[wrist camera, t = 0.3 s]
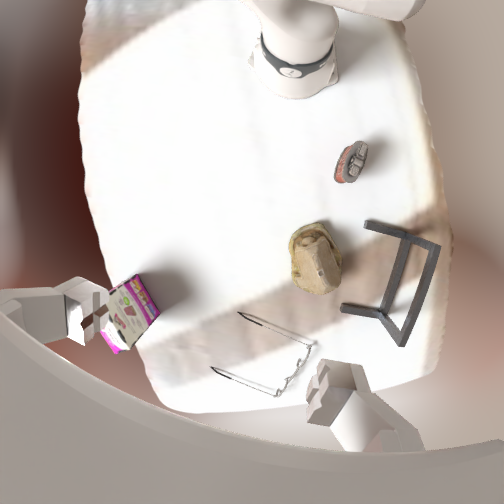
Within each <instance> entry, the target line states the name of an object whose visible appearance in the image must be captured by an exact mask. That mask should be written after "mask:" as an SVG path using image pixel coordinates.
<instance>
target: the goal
mask: <svg viewBox="0 0 504 504" xmlns="http://www.w3.org/2000/svg"><path fill="white" fill-rule="evenodd" d="M364 228H365V229H369V230H372V231H376V232H380V233H383V234H387V235H391V236H394V237H398V238H401V242H400V246H399V250H398V253H397V257H396V260H395V263H394V267H393V270H392V273H391V276H390V279H389V282H388V286H387V289H386V291H385V294H384V297H383V300H382V303H381V306H380V308H379V310H375V309H370V308H364V307H359V306H353V305H348V304H341V307H340V311H341V312H342V313H347V314H353V315H359V316H365V317H371V318H377V319H379V320H380V321H381V323H382V324H383V325H384V327H385V328H386V330H387V331H388V332H389V334H390V335H391V337H392V338H393V340H394V341H395V342H396V344H397V345H398V347H405V345H406V343H407V341H408V338H409V336H410V334H411V332H412V329H413V327H414V325H415V322H416V320H417V317H418V315H419V312H420V310H421V307H422V305H423V302H424V299H425V297H426V294H427V291H428V288H429V285H430V282H431V279H432V276H433V273H434V270H435V267H436V264H437V260H438V257H439V253H440V250H441V246H440V245H438V244H435V243H433V242H430V241H428V240H425V239H423V238H420V237H418V236H415V235H413V234H410V233H407V232H404V231H400V230H397V229H393V228H390V227H386V226H383V225H379V224H376V223H372V222H368V221H365V224H364ZM411 243H414V244H416V245H418V246H420V247H422V248H425V249H427V250H429V253H428V256H427V260H426V263H425V266H424V269H423V273H422V276H421V279H420V282H419V285H418V288H417V290H416V293H415V296H414V299H413V302H412V304H411V307H410V309H409V312H408V315H407V317H406V320H405V322H404V324H403V327H402V329H401V331H400V330H399V329H398V328H397V326H396V325H395V324H394V323H393V321H392V320H391V319H390V317H389V316H388V315H387V314H388V311H389V309H390V306H391V303H392V301H393V298H394V295H395V292H396V289H397V286H398V283H399V280H400V277H401V274H402V271H403V268H404V264H405V261H406V258H407V254H408V251H409V247H410V244H411Z"/></svg>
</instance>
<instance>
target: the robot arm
mask: <svg viewBox="0 0 504 504" xmlns="http://www.w3.org/2000/svg"><path fill="white" fill-rule="evenodd" d="M239 1H240V2H241V3H243V4H244V5H246V6H247V7H248V8H249V9H250V10H251V11H252V12H253V13H254V14H255V15H256V16H257V17H258V18H259V20H260V24H261V29H260V34H261V36H260V38H257V40H256V44H257V45H256V46H255V48H254V50H253V52H252V54H251V56H250V58H249V60H248V66H249V67H250V68H251V69H252V70H253V71H255V72H256V73H257V74H258V76H259V78H260V80H261V82H262V83H263V85H264V86H265V87H266V88H267V89H268V90H269V91H271V92H272V93H274V94H276V95H278V96H280V97H283V98H287V99H304V98H308V97H311V96H313V95H315V94H316V93H318V92H319V91H320V90H321V89H323V88H324V87H326V86H330V85H333V84H335V83H337V80H338V72H337V62H336V52H335V44H334V37H335V35H336V32H337V29H338V26H339V20H338V16H337V13H336V11H335V9H334V7H338V8H341V9H345V10H348V11H351V12H355V13H358V14H363V15H368V16H373V17H378V18H383V19H388V20H393V21H402V20H405V19H408V18H410V17H411V16H413V15H415V14H416V13H417V12H418V11H419V10H420V9H421V8H422V6H423V5H424V3H425V0H239ZM333 6H334V7H333ZM332 73H333V75H332ZM108 302H109V292H108V290H107V289H105V288H102V287H101V286H98V285H96V284H94V283H92V282H90V281H88V280H86V279H83V278H81V277H75V278H73V279H71V280H69V281H67V282H65V283H63V284H61V285H59V286H57V287H55V288H51V287H44V288H21V289H2V290H0V504H504V441H502V440H499V439H497V440H491V441H487V442H482V443H477V444H472V445H467V446H461V447H454V448H447V449H439V450H429V451H425V448H424V445H423V443H422V440H421V437H420V435H419V432H418V430H417V429H416V428H415V427H414V426H413V425H411V424H410V423H409V422H408V421H407V420H405V419H404V418H403V417H402V416H401V415H399V414H398V413H397V412H396V411H395V410H394V409H393V408H391V407H390V406H389V405H388V404H387V403H386V402H384V401H383V400H382V399H381V398H380V397H379V396H377V395H376V394H375V393H371V390H370V387H369V384H368V381H367V378H366V375H365V372H364V369H363V367H362V366H361V365H358V364H351V363H344V362H339V361H333V360H328V359H321V361H320V362H319V364H318V366H317V374H316V375H314V376H313V377H312V378H311V380H310V383H309V385H308V389H307V394H306V401H307V402H308V403H309V406H308V408H307V423H311V424H317V425H323V426H329V427H330V429H331V431H332V432H333V434H334V435H335V436H336V438H337V439H338V440H339V442H340V444H341V445H342V446H343V448H344V449H345V451H336V450H326V449H316V448H308V447H301V446H295V445H289V444H283V443H278V442H272V441H268V440H263V439H258V438H254V437H250V436H246V435H242V434H238V433H234V432H230V431H227V430H223V429H220V428H216V427H213V426H210V425H207V424H203V423H200V422H197V421H194V420H191V419H188V418H186V417H183V416H180V415H177V414H175V413H172V412H169V411H167V410H164V409H162V408H159V407H157V406H155V405H152V404H150V403H147V402H145V401H143V400H141V399H138V398H136V397H134V396H132V395H130V394H127V393H125V392H123V391H121V390H119V389H117V388H115V387H113V386H111V385H109V384H107V383H106V382H104V381H102V380H100V379H98V378H96V377H94V376H92V375H91V374H89V373H87V372H85V371H84V370H82V369H80V368H79V367H77V366H75V365H74V364H72V363H70V362H69V361H67V360H66V359H64V358H63V357H61V356H59V355H58V354H56V353H55V352H53V351H52V350H50V349H49V348H47V347H46V346H45V345H43V344H45V343H49V342H52V341H56V340H60V339H63V338H66V337H70V338H72V339H74V340H76V341H77V342H79V343H81V344H83V345H85V344H86V343H87V342H88V341H90V340H91V339H92V338H93V337H94V333H95V332H100V331H102V330H103V329H104V328H105V326H106V324H107V322H108V319H109V309H108V307H107V305H106V304H107V303H108Z"/></svg>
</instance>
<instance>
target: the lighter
mask: <svg viewBox="0 0 504 504" xmlns="http://www.w3.org/2000/svg"><path fill="white" fill-rule="evenodd" d="M367 151H368V145H367V144H366V143H364V142H362V141H357V142H355V143H354V144H353V145H352V146H348V147H346V148H345V149H344V151H343V152H342V154H341V155H340V157H339V159H338V162H337V165H336V168H335V172H334V179H335V181H336V182H338V183H345V182H348V183H353V182H355V181H356V179H357V178H358V176H359V174H360V173H361V171H362V168H363V166H364V164H365V160H366V156H367Z"/></svg>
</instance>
